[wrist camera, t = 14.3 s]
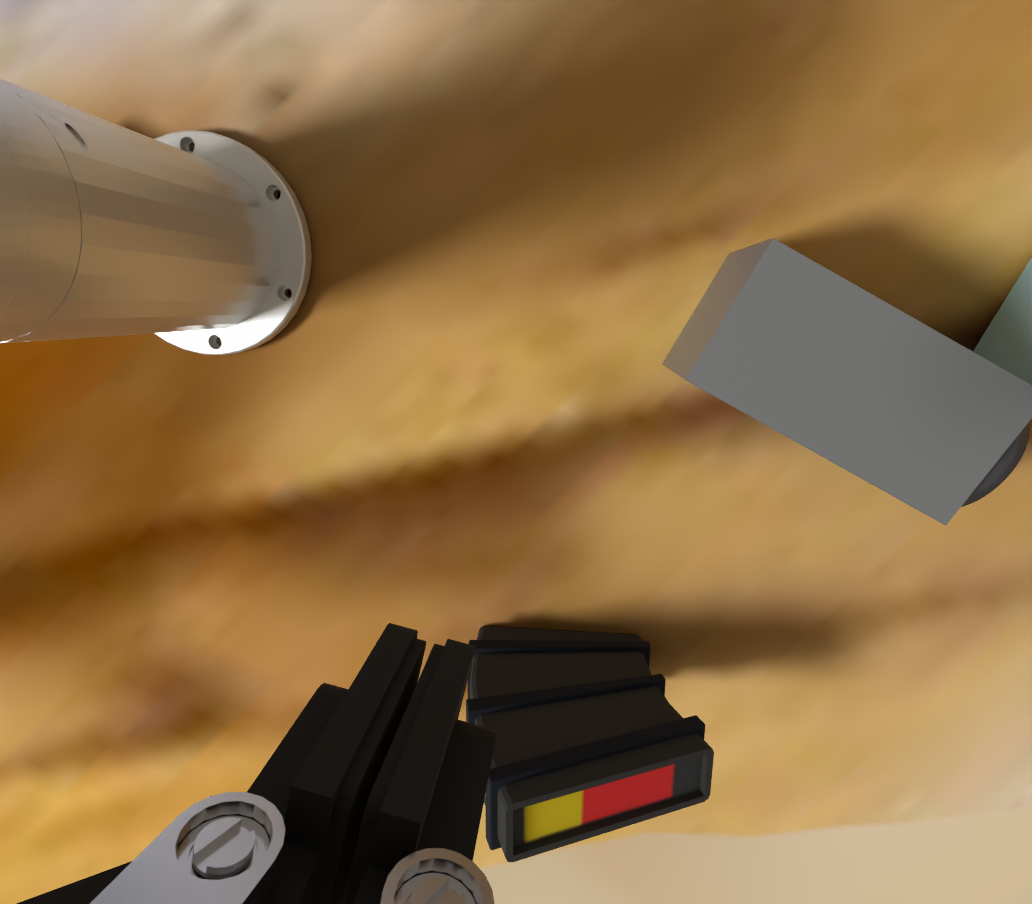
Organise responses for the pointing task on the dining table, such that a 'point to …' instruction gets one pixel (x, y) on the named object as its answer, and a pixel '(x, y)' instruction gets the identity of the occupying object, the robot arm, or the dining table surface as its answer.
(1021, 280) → the side door
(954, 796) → the dining table surface
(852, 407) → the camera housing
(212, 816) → the robot arm
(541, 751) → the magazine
